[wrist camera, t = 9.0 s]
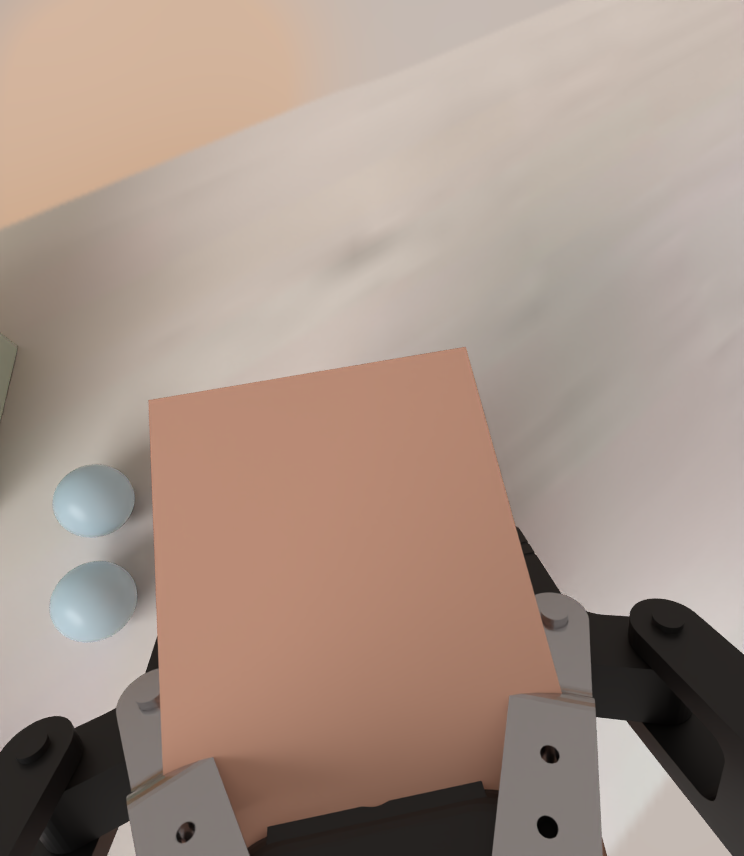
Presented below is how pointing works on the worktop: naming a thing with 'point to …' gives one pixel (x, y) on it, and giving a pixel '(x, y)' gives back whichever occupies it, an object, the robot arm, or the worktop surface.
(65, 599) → the marble
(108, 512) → the marble
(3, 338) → the sage green block
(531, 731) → the robot arm
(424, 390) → the salmon orange block
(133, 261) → the worktop surface
